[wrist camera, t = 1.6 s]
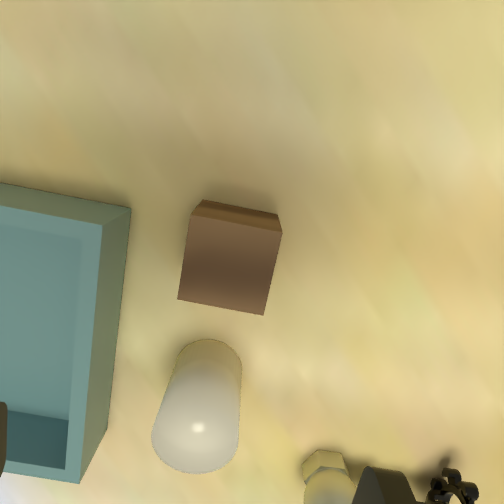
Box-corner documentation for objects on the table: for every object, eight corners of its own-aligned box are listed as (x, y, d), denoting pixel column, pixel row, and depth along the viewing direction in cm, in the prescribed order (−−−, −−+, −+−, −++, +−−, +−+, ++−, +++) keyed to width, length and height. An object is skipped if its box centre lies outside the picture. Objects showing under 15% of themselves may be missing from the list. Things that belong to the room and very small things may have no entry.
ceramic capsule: (180, 333, 28) (157, 396, 21) (248, 346, 28) (245, 411, 22) (171, 391, 30) (146, 466, 23) (235, 402, 30) (229, 480, 23)
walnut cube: (202, 199, 25) (190, 214, 21) (277, 214, 26) (282, 232, 21) (191, 269, 27) (177, 299, 22) (261, 283, 27) (263, 315, 22)
